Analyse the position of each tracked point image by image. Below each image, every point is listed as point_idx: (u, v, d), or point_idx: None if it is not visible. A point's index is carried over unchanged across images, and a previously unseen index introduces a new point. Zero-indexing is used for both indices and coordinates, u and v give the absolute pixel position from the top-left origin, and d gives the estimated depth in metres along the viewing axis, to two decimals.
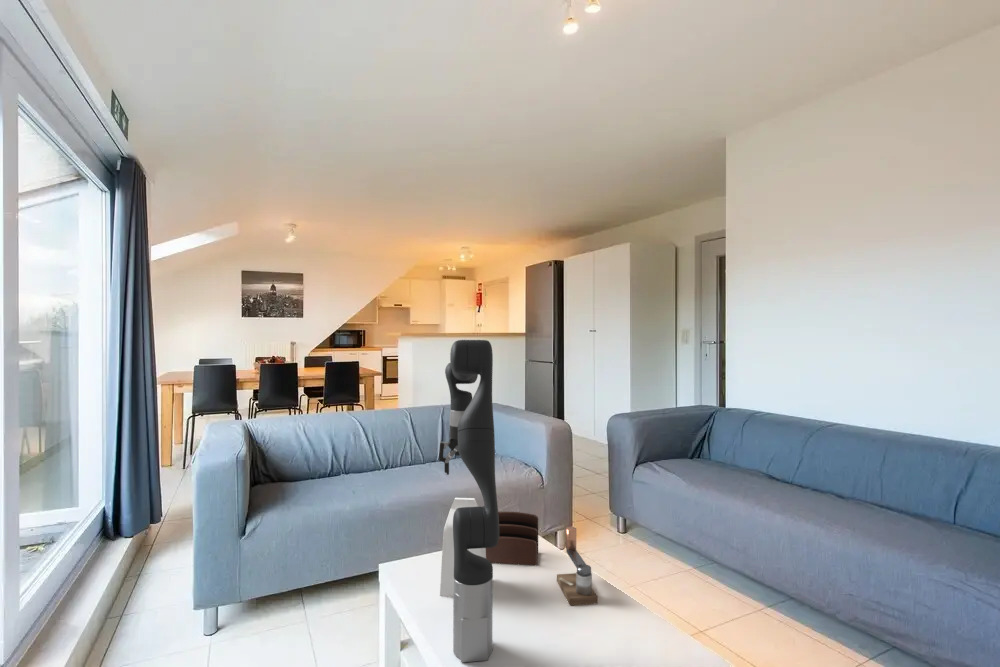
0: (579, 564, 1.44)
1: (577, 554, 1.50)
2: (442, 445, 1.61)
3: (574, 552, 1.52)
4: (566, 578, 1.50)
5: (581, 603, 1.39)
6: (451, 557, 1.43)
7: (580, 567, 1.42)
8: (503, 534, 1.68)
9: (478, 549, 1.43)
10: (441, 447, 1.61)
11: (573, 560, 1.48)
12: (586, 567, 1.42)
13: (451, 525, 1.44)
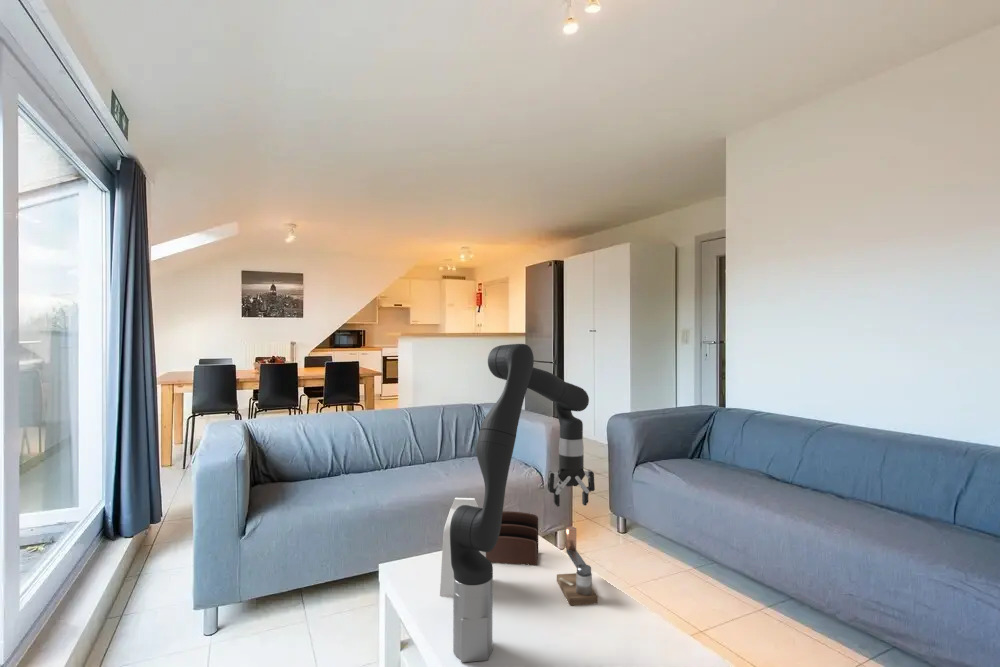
0: (579, 564, 1.44)
1: (577, 554, 1.50)
2: (552, 475, 1.53)
3: (574, 552, 1.52)
4: (566, 578, 1.50)
5: (581, 603, 1.39)
6: None
7: (580, 567, 1.42)
8: (503, 534, 1.69)
9: None
10: (551, 478, 1.53)
11: (573, 560, 1.48)
12: (586, 567, 1.42)
13: None
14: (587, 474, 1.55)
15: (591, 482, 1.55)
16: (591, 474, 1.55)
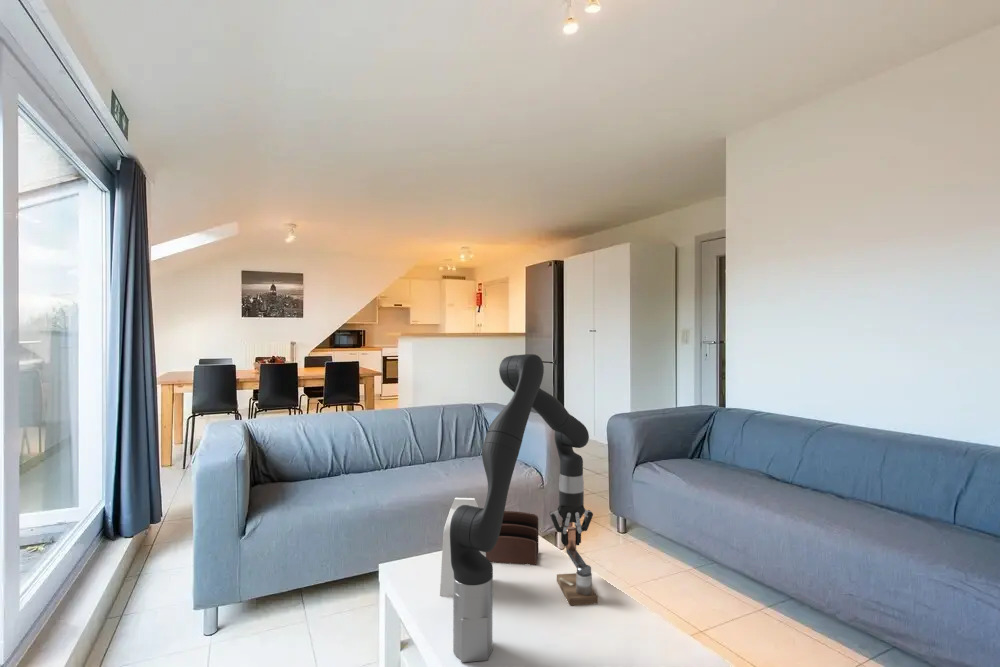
0: (579, 564, 1.44)
1: (577, 554, 1.50)
2: (554, 516, 1.53)
3: (574, 552, 1.52)
4: (566, 578, 1.50)
5: (581, 603, 1.39)
6: None
7: (580, 567, 1.42)
8: (503, 533, 1.69)
9: None
10: (554, 519, 1.53)
11: (573, 560, 1.48)
12: (586, 567, 1.42)
13: None
14: (586, 513, 1.55)
15: (587, 522, 1.54)
16: (590, 515, 1.55)
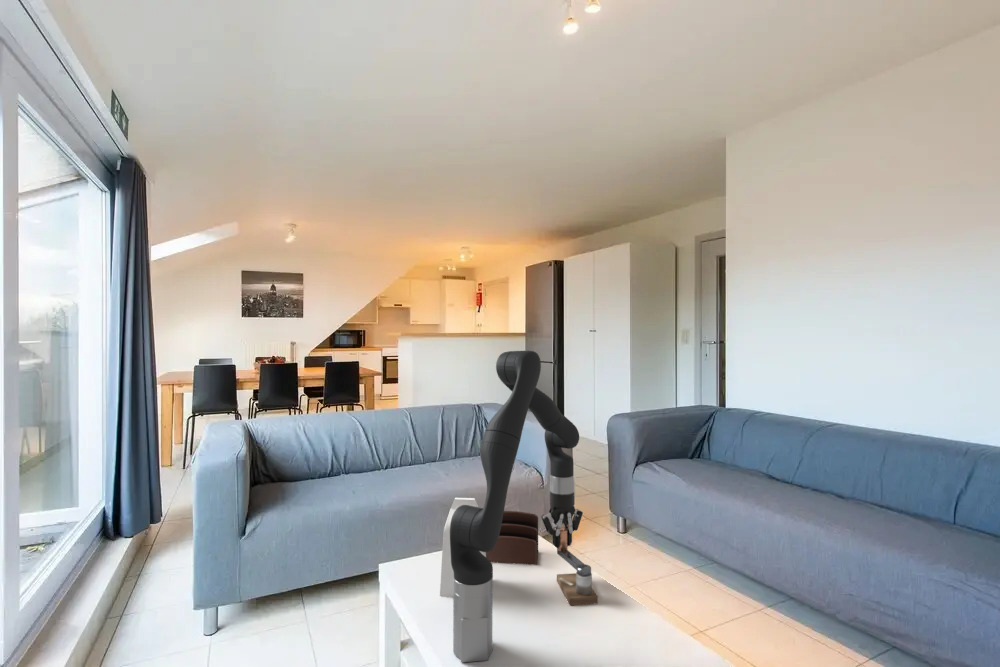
0: (578, 565, 1.43)
1: (571, 554, 1.50)
2: (547, 519, 1.51)
3: (568, 553, 1.51)
4: (566, 578, 1.50)
5: (581, 603, 1.39)
6: None
7: (580, 568, 1.41)
8: (503, 533, 1.69)
9: None
10: (547, 522, 1.51)
11: (569, 561, 1.47)
12: (586, 567, 1.42)
13: None
14: (576, 512, 1.56)
15: (577, 521, 1.55)
16: (580, 513, 1.55)
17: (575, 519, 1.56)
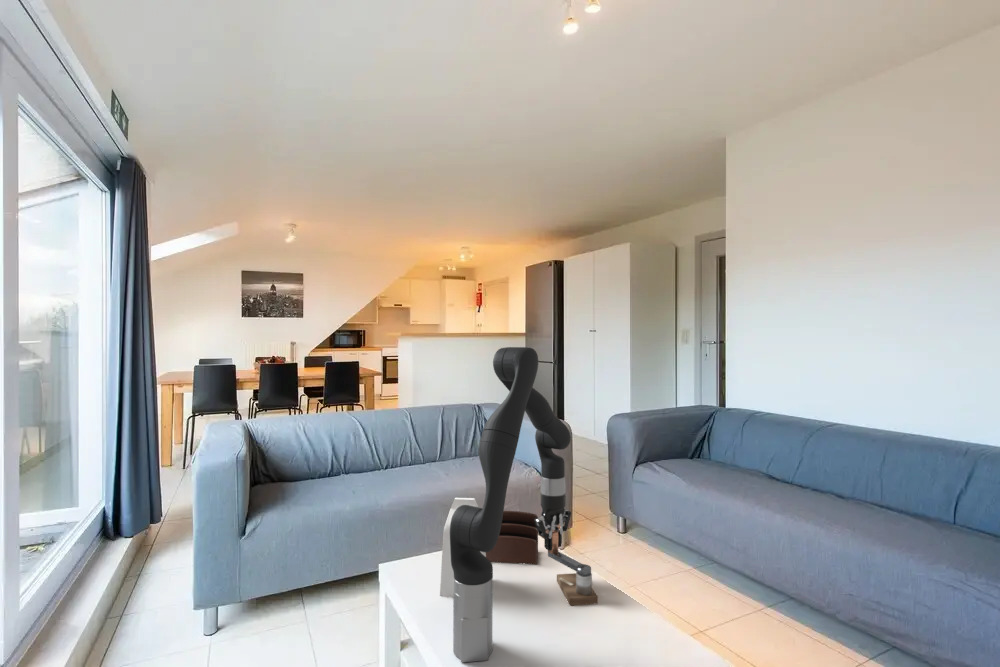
0: (577, 565, 1.43)
1: (565, 556, 1.49)
2: (542, 522, 1.48)
3: (561, 555, 1.50)
4: (566, 578, 1.50)
5: (581, 603, 1.39)
6: None
7: (581, 568, 1.41)
8: (503, 533, 1.69)
9: None
10: (542, 525, 1.48)
11: (565, 562, 1.46)
12: (586, 566, 1.42)
13: None
14: (565, 513, 1.55)
15: (566, 522, 1.55)
16: (569, 514, 1.55)
17: (564, 520, 1.55)
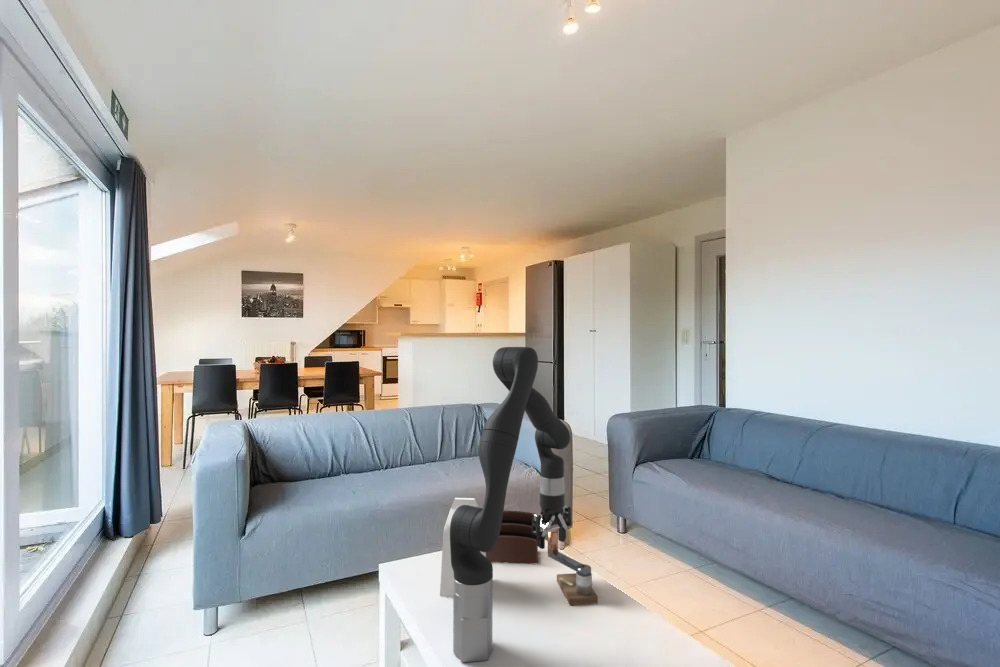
0: (577, 565, 1.43)
1: (564, 556, 1.49)
2: (540, 518, 1.48)
3: (561, 555, 1.50)
4: (566, 578, 1.50)
5: (581, 603, 1.39)
6: None
7: (581, 568, 1.41)
8: (503, 533, 1.69)
9: None
10: (539, 520, 1.47)
11: (565, 563, 1.46)
12: (586, 566, 1.42)
13: None
14: (564, 510, 1.55)
15: (568, 517, 1.55)
16: (569, 509, 1.55)
17: (566, 516, 1.56)
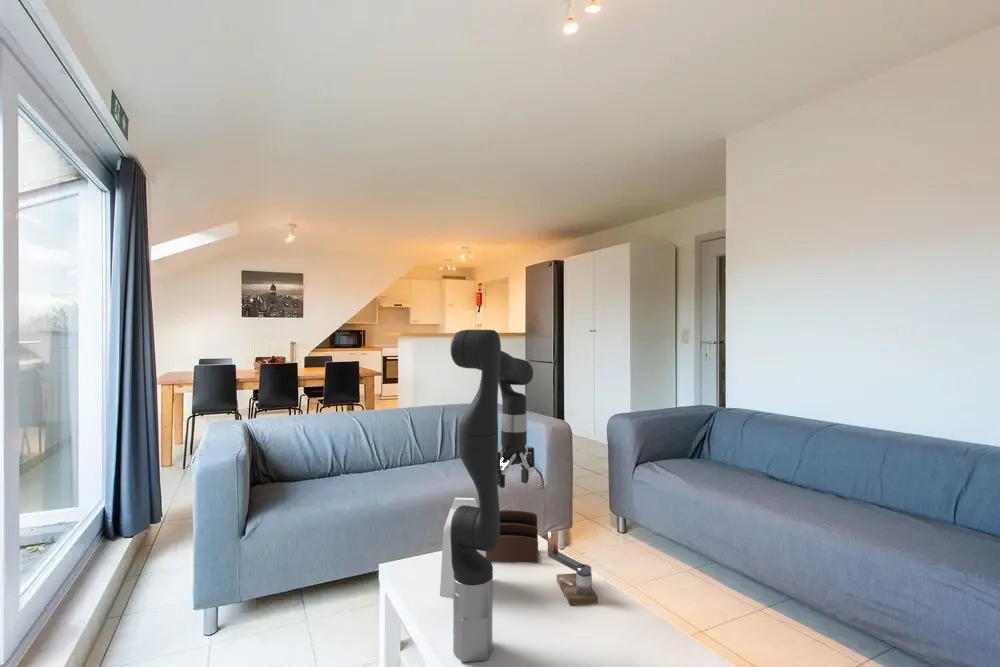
0: (577, 565, 1.43)
1: (564, 556, 1.49)
2: (499, 455, 1.42)
3: (561, 555, 1.50)
4: (566, 578, 1.50)
5: (581, 603, 1.39)
6: None
7: (581, 568, 1.41)
8: (503, 533, 1.69)
9: None
10: (498, 457, 1.42)
11: (565, 563, 1.46)
12: (586, 566, 1.42)
13: None
14: (527, 450, 1.50)
15: (532, 458, 1.50)
16: (532, 450, 1.50)
17: (529, 457, 1.50)
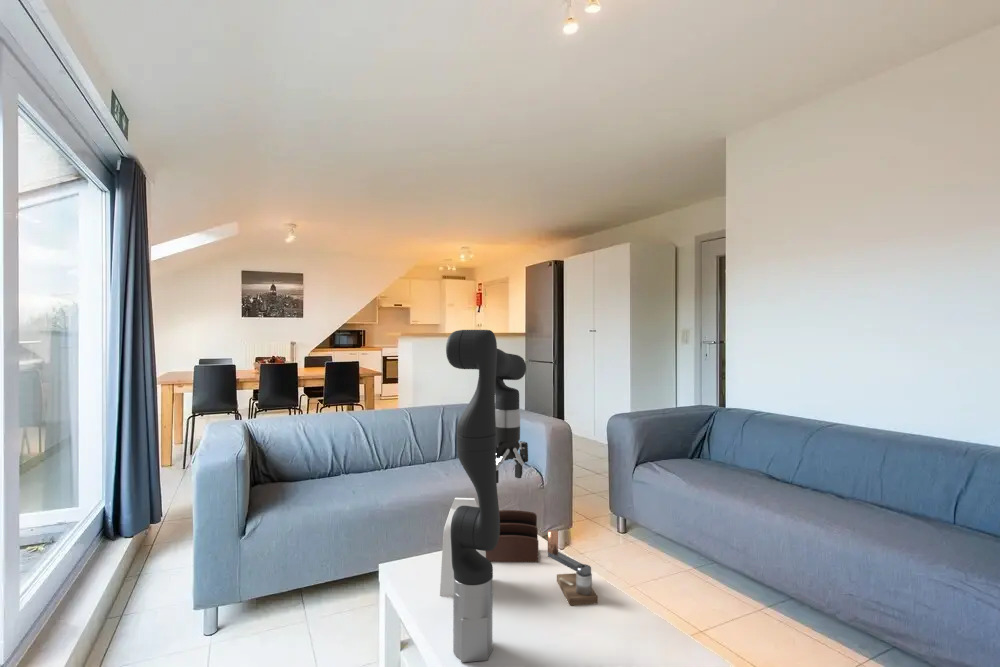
0: (577, 565, 1.43)
1: (564, 556, 1.49)
2: None
3: (561, 555, 1.50)
4: (566, 578, 1.50)
5: (581, 603, 1.39)
6: (451, 557, 1.43)
7: (581, 568, 1.41)
8: (503, 533, 1.70)
9: None
10: None
11: (565, 563, 1.46)
12: (586, 566, 1.42)
13: None
14: (521, 445, 1.49)
15: (525, 453, 1.49)
16: (525, 445, 1.49)
17: (522, 452, 1.50)
